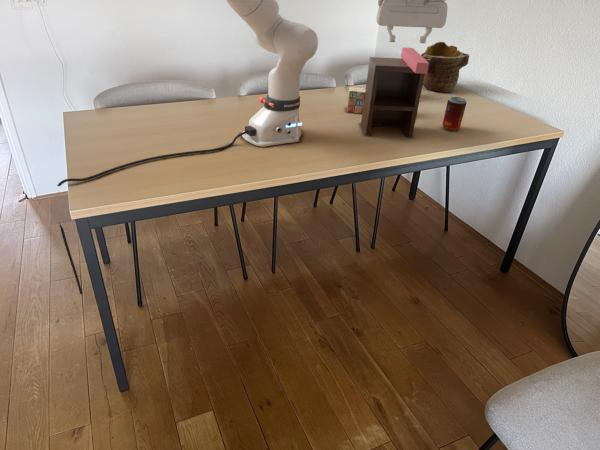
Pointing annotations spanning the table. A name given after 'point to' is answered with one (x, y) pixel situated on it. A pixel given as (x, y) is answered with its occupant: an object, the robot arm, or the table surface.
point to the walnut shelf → (391, 95)
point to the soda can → (454, 113)
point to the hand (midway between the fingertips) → (407, 42)
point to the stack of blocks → (356, 99)
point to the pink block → (414, 60)
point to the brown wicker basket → (443, 66)
